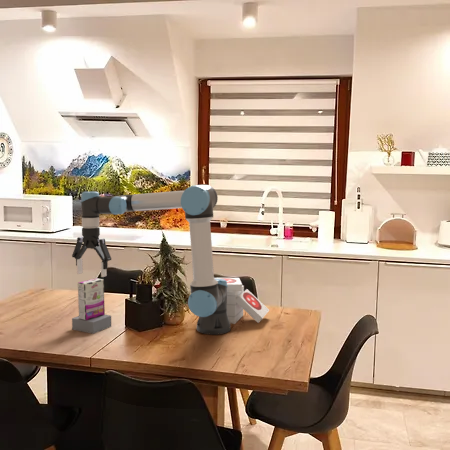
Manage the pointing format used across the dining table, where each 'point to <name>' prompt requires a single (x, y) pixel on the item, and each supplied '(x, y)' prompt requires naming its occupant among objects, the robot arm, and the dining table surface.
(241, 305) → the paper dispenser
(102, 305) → the candy bar box
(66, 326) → the dining table surface
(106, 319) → the grey block
